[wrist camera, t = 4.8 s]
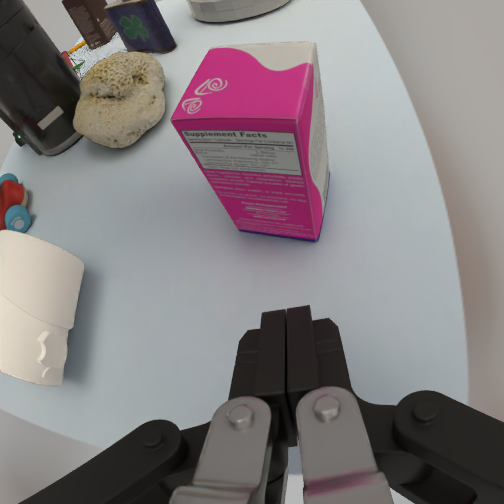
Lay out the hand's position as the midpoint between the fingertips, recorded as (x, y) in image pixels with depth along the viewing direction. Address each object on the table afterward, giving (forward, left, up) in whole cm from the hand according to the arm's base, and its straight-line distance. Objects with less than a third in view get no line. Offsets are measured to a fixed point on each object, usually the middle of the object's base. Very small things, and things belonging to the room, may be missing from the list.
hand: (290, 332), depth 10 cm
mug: (-21, +5, -10) cm, 23 cm away
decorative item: (-14, +26, -10) cm, 31 cm away
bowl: (0, +48, -9) cm, 49 cm away
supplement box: (0, +11, -10) cm, 14 cm away
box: (-24, +53, -10) cm, 59 cm away
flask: (-13, +40, -10) cm, 43 cm away
